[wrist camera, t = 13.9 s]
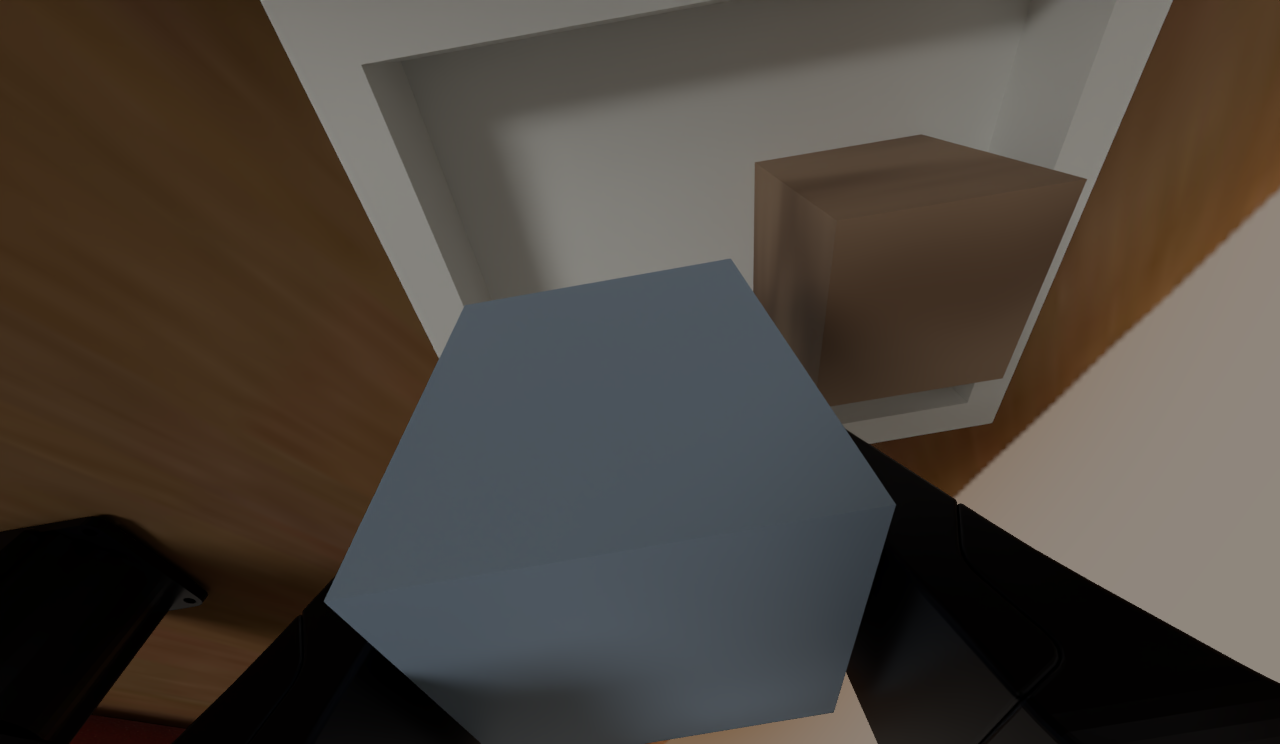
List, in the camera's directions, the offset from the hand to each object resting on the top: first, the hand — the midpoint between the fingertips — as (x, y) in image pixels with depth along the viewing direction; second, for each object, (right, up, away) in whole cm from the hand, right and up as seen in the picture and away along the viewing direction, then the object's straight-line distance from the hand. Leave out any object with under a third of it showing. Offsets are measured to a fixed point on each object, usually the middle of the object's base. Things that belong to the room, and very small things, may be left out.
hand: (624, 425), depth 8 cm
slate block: (0, +1, +1) cm, 1 cm away
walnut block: (+6, +5, +5) cm, 9 cm away
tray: (+3, +5, +6) cm, 8 cm away
